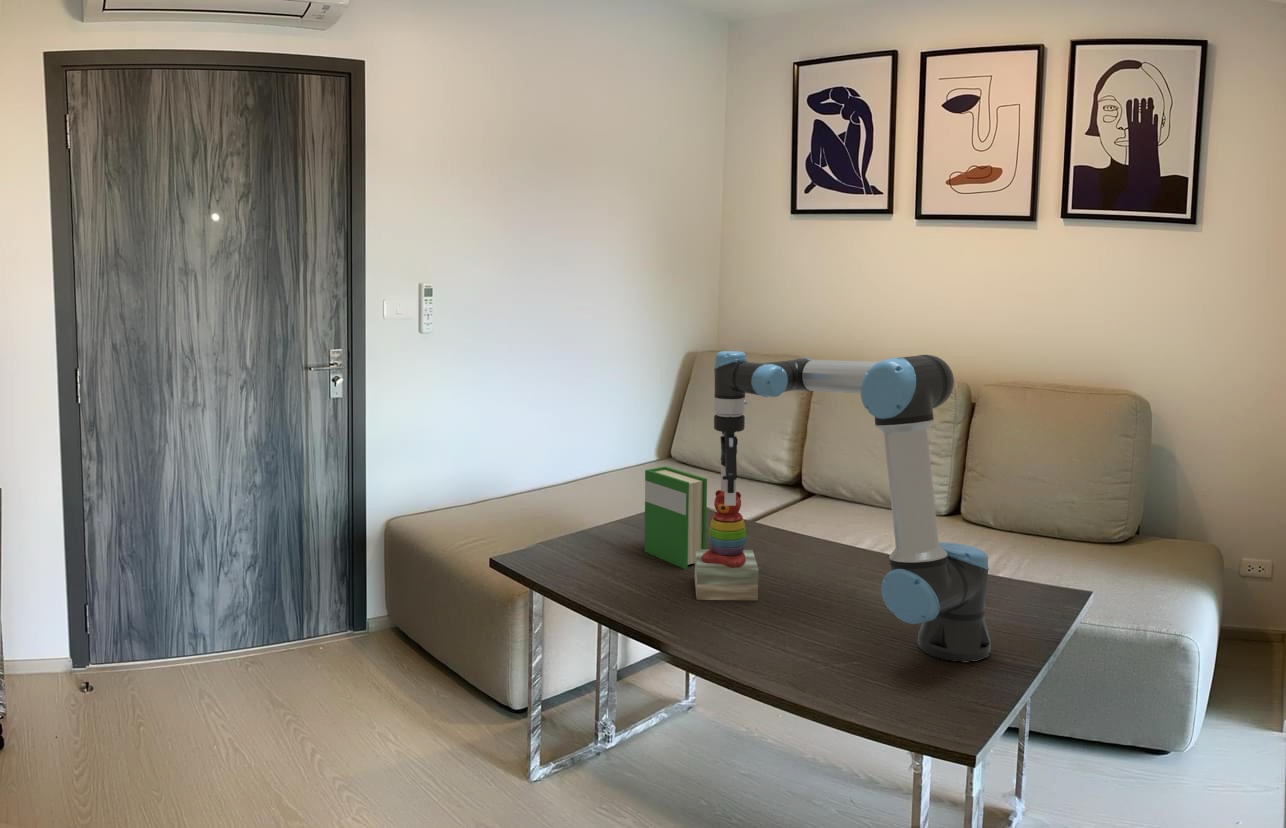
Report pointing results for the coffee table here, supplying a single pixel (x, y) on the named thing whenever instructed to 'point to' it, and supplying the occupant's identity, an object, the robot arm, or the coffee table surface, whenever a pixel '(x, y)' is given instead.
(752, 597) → the tower base
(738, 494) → the stacking bear
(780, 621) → the coffee table surface
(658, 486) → the hardback book
